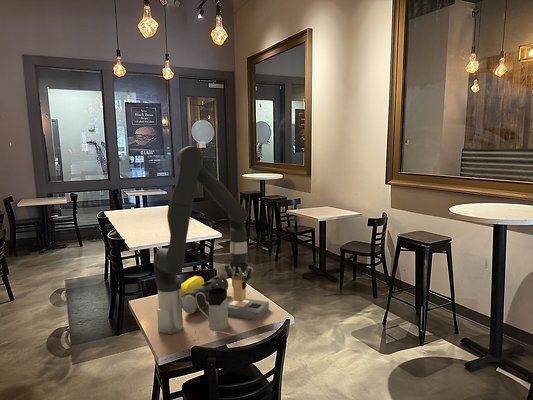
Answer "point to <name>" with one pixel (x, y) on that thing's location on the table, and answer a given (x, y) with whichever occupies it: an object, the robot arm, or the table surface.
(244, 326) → the table surface
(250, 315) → the block
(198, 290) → the muzzle brake
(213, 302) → the white pitcher
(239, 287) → the plug
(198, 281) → the yellow banana
